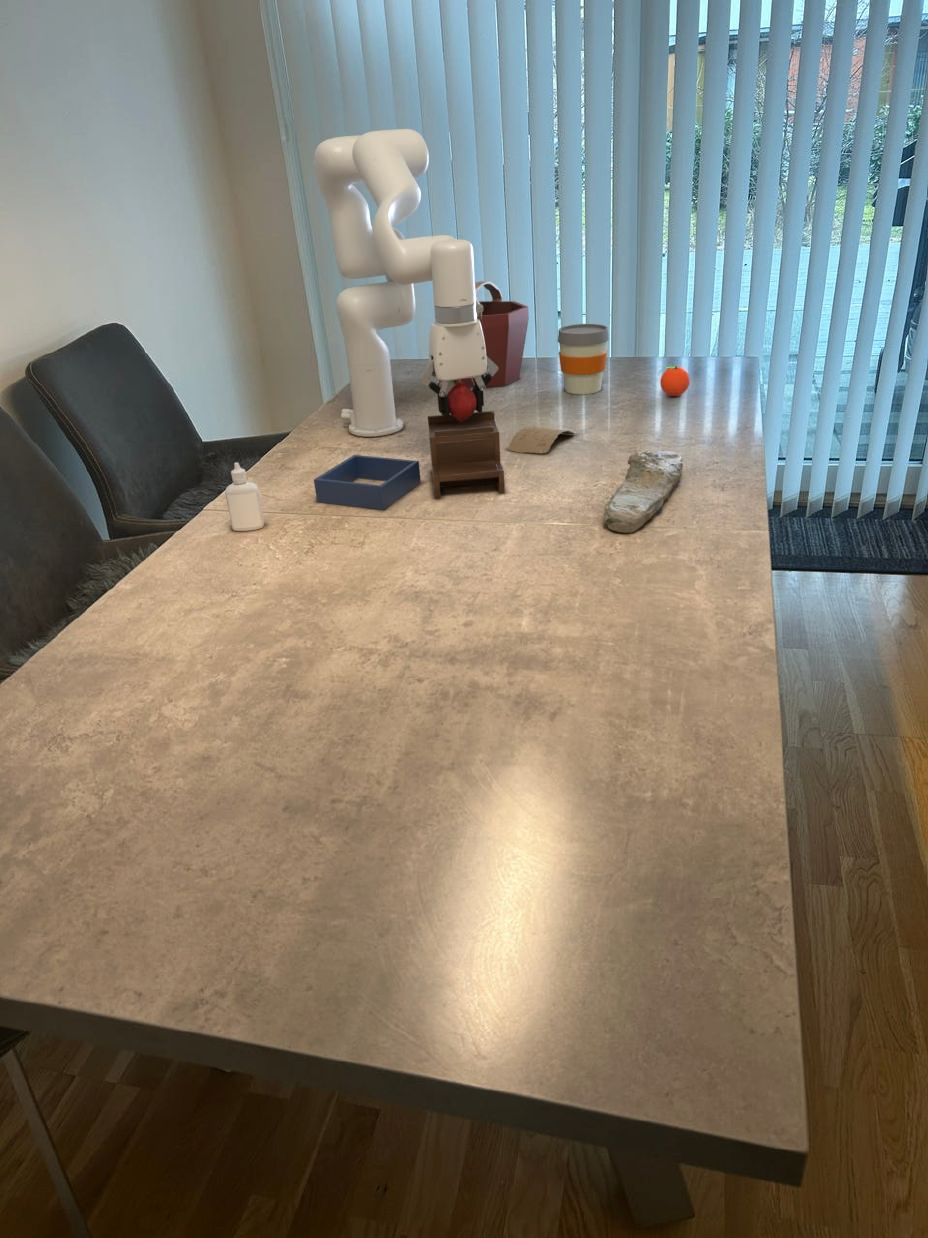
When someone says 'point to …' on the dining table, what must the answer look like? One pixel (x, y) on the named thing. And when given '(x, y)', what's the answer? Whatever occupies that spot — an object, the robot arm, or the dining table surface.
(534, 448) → the clay tablet
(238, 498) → the eye dropper bottle
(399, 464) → the crate
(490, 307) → the bucket
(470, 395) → the onion
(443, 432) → the step shelf
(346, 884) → the dining table surface
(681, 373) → the clementine
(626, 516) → the elongated rock
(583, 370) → the reusable coffee cup
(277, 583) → the dining table surface
